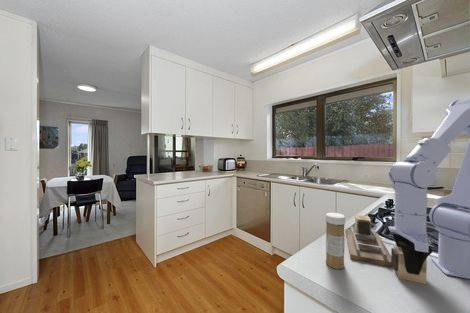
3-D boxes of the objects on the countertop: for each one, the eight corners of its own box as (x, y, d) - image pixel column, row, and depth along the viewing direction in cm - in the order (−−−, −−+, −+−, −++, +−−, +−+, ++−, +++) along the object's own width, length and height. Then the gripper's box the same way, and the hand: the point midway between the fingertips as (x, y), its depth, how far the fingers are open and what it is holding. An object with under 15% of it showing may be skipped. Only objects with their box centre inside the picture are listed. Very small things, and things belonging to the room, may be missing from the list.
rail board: (377, 236, 70) (378, 216, 69) (394, 267, 52) (395, 239, 51) (345, 232, 74) (345, 212, 74) (350, 258, 56) (350, 233, 56)
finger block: (390, 268, 51) (391, 245, 51) (419, 274, 49) (419, 249, 49) (395, 277, 48) (395, 252, 47) (426, 284, 45) (426, 257, 45)
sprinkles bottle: (330, 258, 56) (330, 210, 56) (347, 265, 53) (348, 214, 52) (322, 264, 53) (322, 214, 53) (340, 272, 50) (340, 218, 50)
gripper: (382, 202, 56) (381, 250, 56) (398, 218, 43) (397, 281, 43) (414, 205, 53) (413, 256, 53) (442, 223, 40) (441, 290, 40)
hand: (409, 267), depth 48 cm, fingers closed on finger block, 4 cm apart
